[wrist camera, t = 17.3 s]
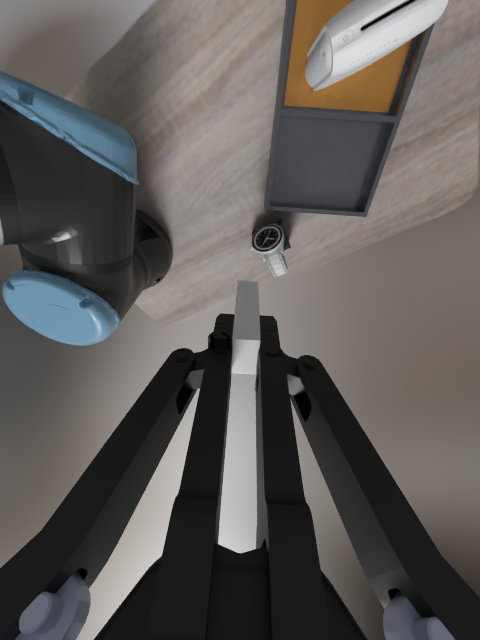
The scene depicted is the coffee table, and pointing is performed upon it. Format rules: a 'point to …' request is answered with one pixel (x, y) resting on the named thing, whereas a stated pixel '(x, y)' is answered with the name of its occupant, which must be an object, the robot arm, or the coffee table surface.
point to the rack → (334, 120)
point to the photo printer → (366, 36)
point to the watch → (272, 246)
